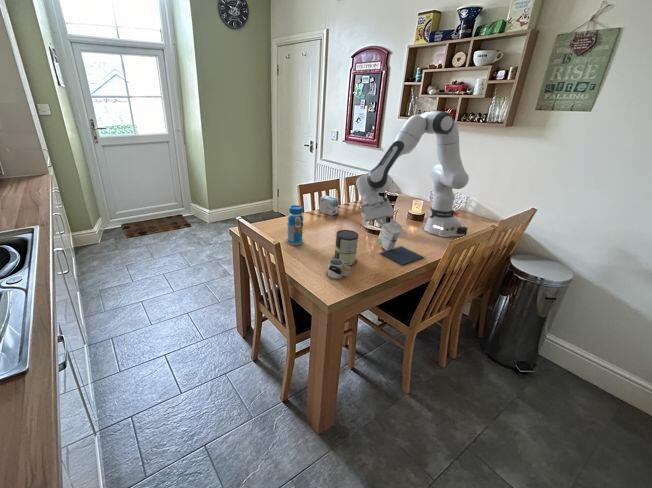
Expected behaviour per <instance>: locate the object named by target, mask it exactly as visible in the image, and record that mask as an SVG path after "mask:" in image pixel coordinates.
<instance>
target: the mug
mask: <svg viewBox="0 0 652 488" xmlns="http://www.w3.org/2000/svg"><path fill="white" fill-rule="evenodd" d="M344 269H348V272H344ZM351 274H352V267H351V266H350V265H345V264H344V261H343V260H341V259H334V258H331V259H329V260H328V269H327V276H328V277H329V278H330V279H333V280H340V279H342V278H344V277H350V276H351Z"/></svg>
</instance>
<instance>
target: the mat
mask: <svg viewBox="0 0 652 488" xmlns="http://www.w3.org/2000/svg"><path fill="white" fill-rule="evenodd" d="M379 255H381V256H383V257H385V258H387V259H389V260H391V261H393V262H395V263H397V264H399V265H400V266H405V265H408V264H411V263H414V262H416V261H419V260H422V259H424V256H422V255H420V254H418V253H416V252H414V251H412V250H410V249H408V248H406V247H403V246H399V247H394V249H392V250H388V251H386V250H385V251H383V252H380V254H379Z"/></svg>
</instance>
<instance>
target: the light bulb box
mask: <svg viewBox="0 0 652 488" xmlns="http://www.w3.org/2000/svg"><path fill="white" fill-rule="evenodd" d="M319 200H320V201H319V213H322V214H324V215H328V216H330V217H331V216H336V215H337V214H338V212H339V201H340V199H339V198H338V197H335V196H334V197H333V196H330V195H323V196H320V199H319Z"/></svg>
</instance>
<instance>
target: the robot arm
mask: <svg viewBox="0 0 652 488" xmlns="http://www.w3.org/2000/svg"><path fill="white" fill-rule="evenodd" d="M424 134H429V135H431V134H432V135H434V134H435V136H436V140H435V142H436V157H437V160H438V161H439V163H436V164H435V165H434V166H433V167H432V168H431V171H430V176H431V179H432V182H433V183H432V184H433V196H432V203H431V206H430V209H429V212H428V218H427V221H426V223H425V225H424V227H423V230H424V231H425V232H426V233H429V234H432V235H436V236H437V237H442V238H449V237H464V236H465V235H466V234H467V232H468V229H469V228H468V227H467V226H463V225H462V223H461V221H460V220H458V218H457V217H455V216H458V214H459V213H458V212H457V211H456V210H454V209H453V207H454V202H455V197H456V196H455V194H454V192H453V190H462V189H463V188H465V187H466V186H467V185H468V183H469V180H470V177H469V174H468V173H467V171H466V170H465V167H464V165H463V162H462V158H461V150H460V131H459V127H458V124H457V122H456V121H455V119H454V116H453V115H452V114H451V113H450V112H447V111H441V110H433V111H423V112H420V113H419V114H413V115H411V116H410V117H409V118H408V119H407V120H406V122H405V123H403V125H402V127H401V128H400V130H399V132H398V133H397V135H396V137H395V138H394V140H393V142H392V143H391V145H390V146H389V147H388V149H387V151H386V152H385V153H384V155H383V156H382V158H381V159H380V161H379V162H378V164H377V165H376V166H375V167H374V168H372V169H371V170H369V172H368V173H364V174H361V175H360V176H358V177H357V179H356V181H355V185H356V189H357V191H358V193H359V196H361V198H362V202H363V204H361V205H360V206H359V210H360V214H361V217H362V220H363V222H365V223H368V222H373V221H376V223H377V224H378V225H379V227H381V228H382V226H383V224H386V223H387V218H390V217H392V216H394V215H395V210H394V208H393V206H392V203H390V202H389V201H390V200H389V198H388V197H385V196H381V195H380V194H381V193H383V192H387V191H389V190H390V189H391V188H392V186H393V178H392V177H391V176H390V174H389V172H390V170H391V169H392V168H393V165H394V164H395V163H396V161H397V160H398V159H399V158H400V157H401V156H403V155H408V154H410V153H411V152H413V151H414V149H416V147H417V145H418V144H419V142H420V140H421V139H422V137H423V135H424Z"/></svg>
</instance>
